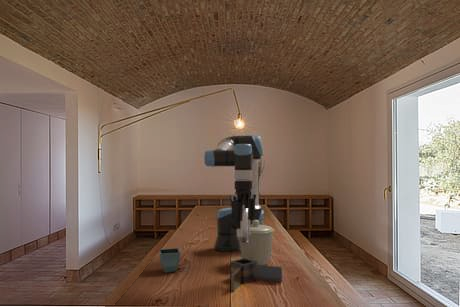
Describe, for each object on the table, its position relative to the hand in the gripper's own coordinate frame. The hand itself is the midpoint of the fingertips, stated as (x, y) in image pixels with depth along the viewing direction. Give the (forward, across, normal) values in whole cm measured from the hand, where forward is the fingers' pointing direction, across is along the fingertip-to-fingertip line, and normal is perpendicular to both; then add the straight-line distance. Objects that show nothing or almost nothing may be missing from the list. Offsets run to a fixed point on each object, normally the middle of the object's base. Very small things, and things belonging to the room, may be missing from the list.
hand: (243, 235), depth 147 cm
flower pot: (+18, +17, -31) cm, 40 cm away
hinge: (+18, +3, +5) cm, 19 cm away
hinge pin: (+3, 0, 0) cm, 3 cm away
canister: (+18, -20, -12) cm, 30 cm away
